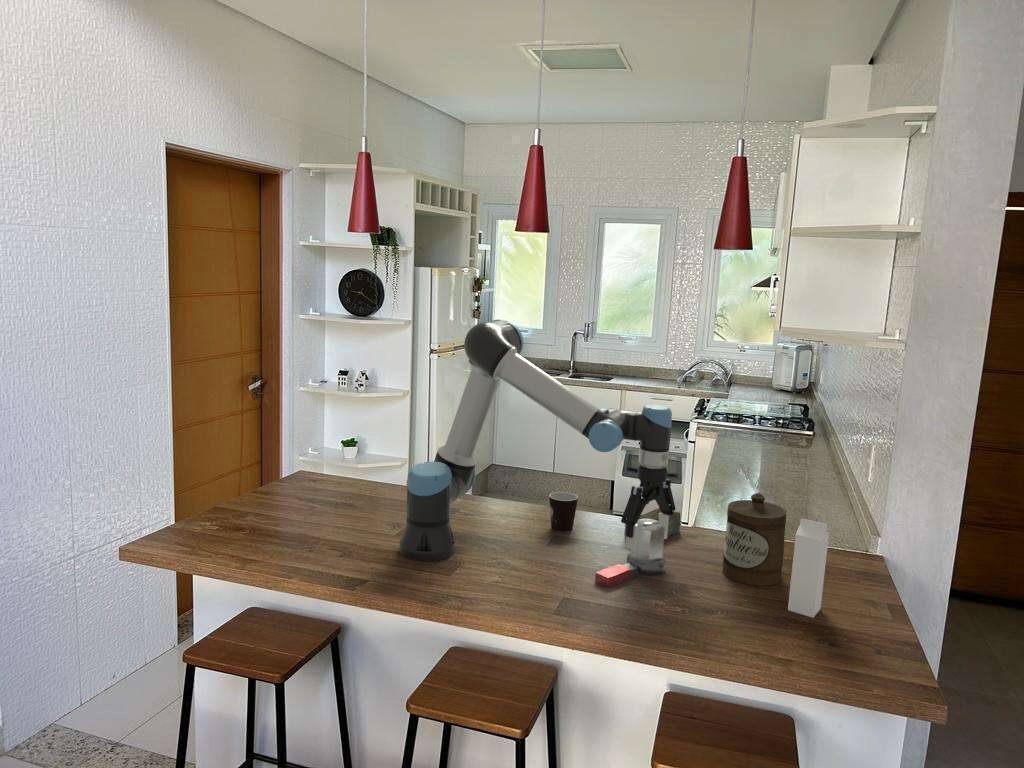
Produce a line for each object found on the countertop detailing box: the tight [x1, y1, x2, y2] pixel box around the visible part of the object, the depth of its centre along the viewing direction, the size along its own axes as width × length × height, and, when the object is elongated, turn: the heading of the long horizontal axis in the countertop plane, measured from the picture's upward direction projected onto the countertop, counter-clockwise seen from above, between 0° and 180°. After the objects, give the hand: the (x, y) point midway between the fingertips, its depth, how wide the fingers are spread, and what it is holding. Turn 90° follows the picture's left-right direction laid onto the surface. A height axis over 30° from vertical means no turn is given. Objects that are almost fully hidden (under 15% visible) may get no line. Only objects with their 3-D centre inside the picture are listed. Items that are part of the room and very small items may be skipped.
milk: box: [787, 518, 830, 618], centre depth 178 cm, size 6×6×22 cm
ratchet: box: [594, 552, 667, 589], centre depth 196 cm, size 23×10×6 cm, turn 133°
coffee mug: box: [548, 491, 579, 533], centre depth 229 cm, size 12×9×10 cm
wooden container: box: [721, 492, 787, 587], centre depth 198 cm, size 15×15×22 cm
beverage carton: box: [624, 507, 681, 541], centre depth 225 cm, size 8×19×7 cm, turn 137°
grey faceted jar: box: [629, 519, 665, 565], centre depth 200 cm, size 6×6×10 cm
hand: (646, 543), depth 200 cm, fingers open, 13 cm apart
